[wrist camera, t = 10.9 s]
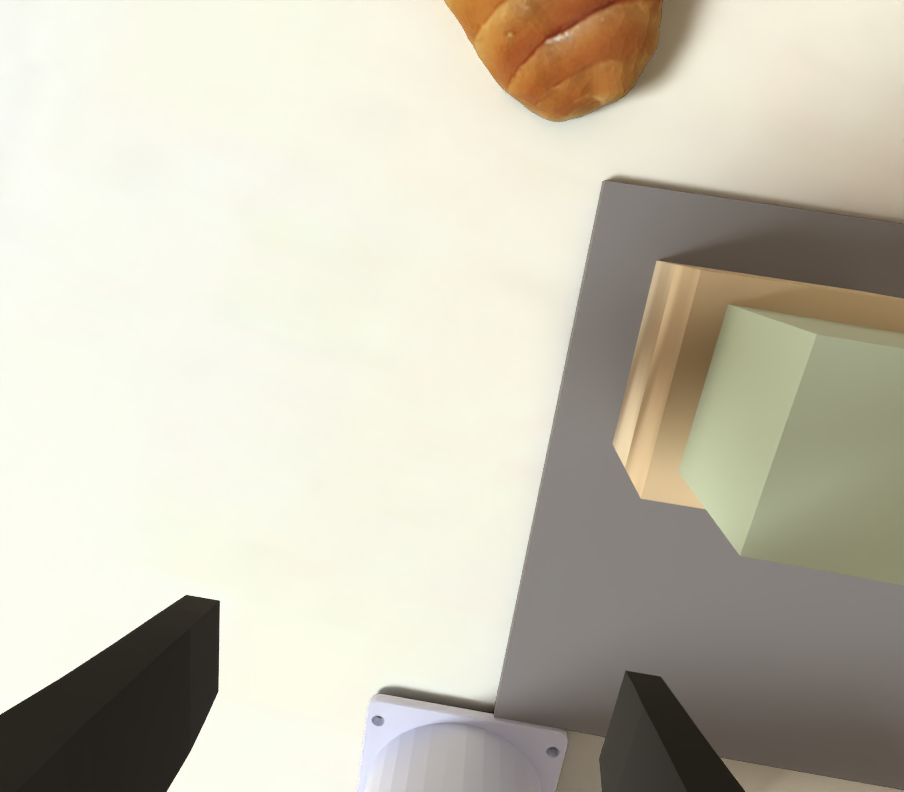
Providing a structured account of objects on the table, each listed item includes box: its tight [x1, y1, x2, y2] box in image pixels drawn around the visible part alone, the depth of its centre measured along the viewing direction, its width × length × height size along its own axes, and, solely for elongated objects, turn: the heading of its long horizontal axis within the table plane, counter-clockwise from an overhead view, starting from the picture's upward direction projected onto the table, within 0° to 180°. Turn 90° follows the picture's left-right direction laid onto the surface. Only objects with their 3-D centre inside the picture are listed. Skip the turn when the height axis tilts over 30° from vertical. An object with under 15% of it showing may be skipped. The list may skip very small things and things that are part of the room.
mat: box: [494, 181, 904, 790], centre depth 20 cm, size 20×16×1 cm
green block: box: [678, 304, 904, 585], centre depth 12 cm, size 4×4×4 cm
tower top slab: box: [625, 265, 904, 509], centre depth 15 cm, size 6×6×2 cm
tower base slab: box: [613, 261, 903, 467], centre depth 17 cm, size 6×6×2 cm
